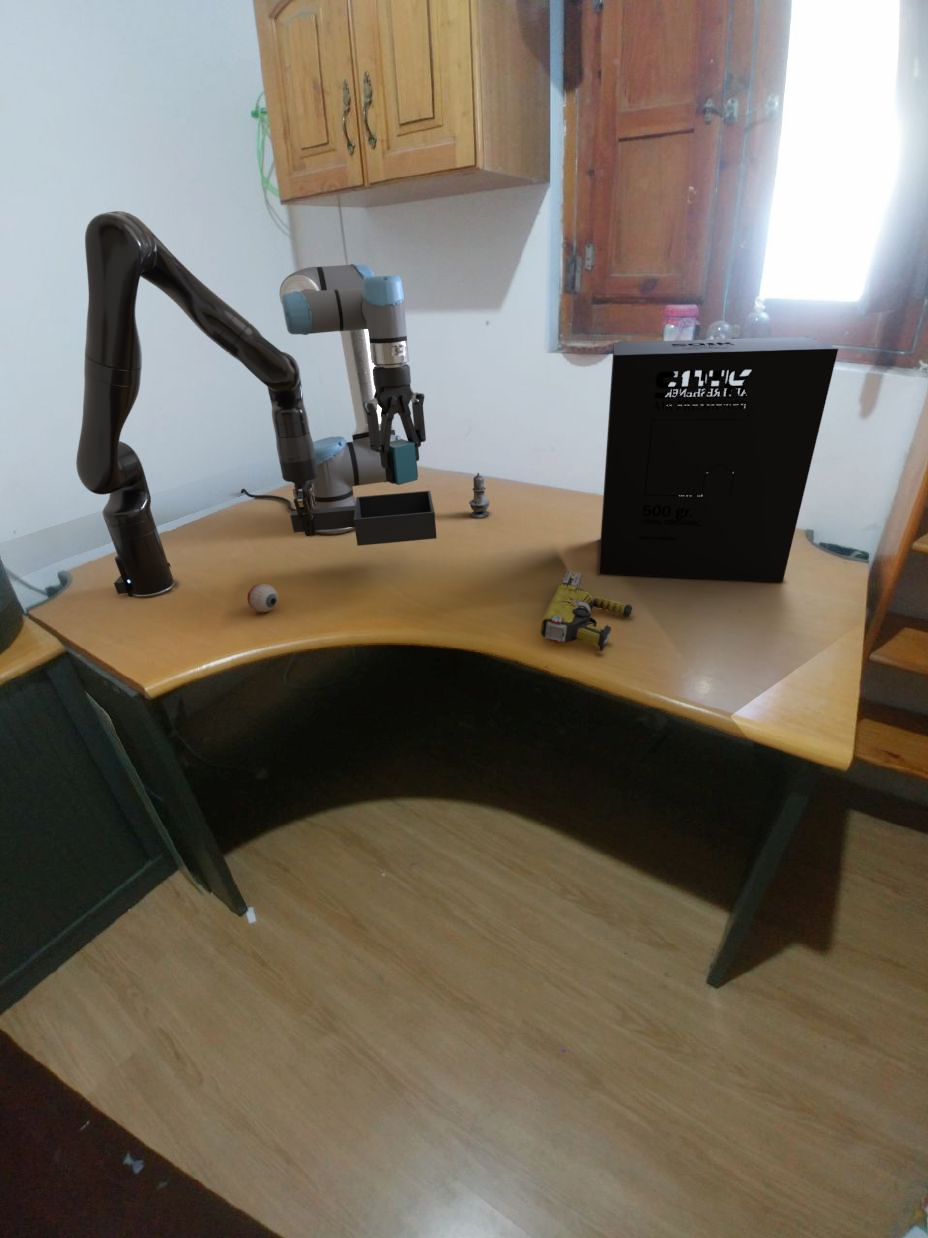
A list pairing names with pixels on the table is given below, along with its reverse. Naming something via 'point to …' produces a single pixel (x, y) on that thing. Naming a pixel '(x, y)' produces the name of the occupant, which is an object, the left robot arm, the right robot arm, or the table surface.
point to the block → (404, 461)
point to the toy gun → (578, 614)
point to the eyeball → (262, 597)
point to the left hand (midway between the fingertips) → (311, 532)
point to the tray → (379, 518)
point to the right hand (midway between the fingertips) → (402, 478)
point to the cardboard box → (710, 455)
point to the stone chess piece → (479, 498)
